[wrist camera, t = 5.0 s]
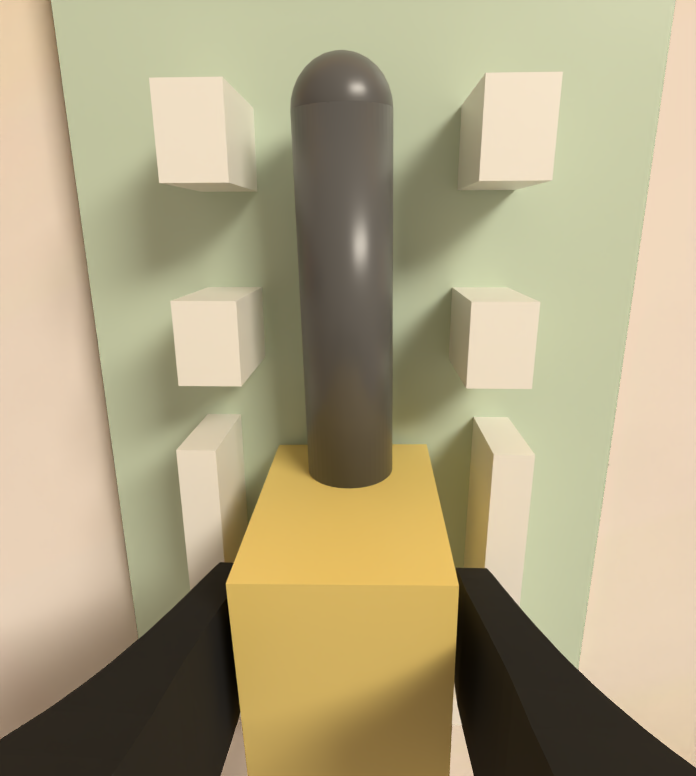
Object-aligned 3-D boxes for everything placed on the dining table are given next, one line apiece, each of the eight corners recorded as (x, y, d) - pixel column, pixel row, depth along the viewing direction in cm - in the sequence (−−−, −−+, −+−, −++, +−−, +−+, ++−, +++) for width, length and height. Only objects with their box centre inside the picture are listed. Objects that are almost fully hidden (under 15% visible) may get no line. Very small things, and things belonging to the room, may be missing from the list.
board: (567, 675, 15) (612, 779, 13) (152, 663, 16) (104, 759, 13) (692, -223, 10) (826, -413, 7) (39, -201, 10) (-91, -366, 7)
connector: (422, 600, 14) (448, 799, 9) (289, 599, 14) (250, 794, 10) (436, 64, 10) (492, -55, 6) (252, 71, 10) (153, -40, 6)
